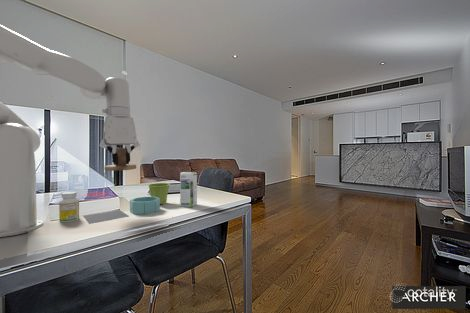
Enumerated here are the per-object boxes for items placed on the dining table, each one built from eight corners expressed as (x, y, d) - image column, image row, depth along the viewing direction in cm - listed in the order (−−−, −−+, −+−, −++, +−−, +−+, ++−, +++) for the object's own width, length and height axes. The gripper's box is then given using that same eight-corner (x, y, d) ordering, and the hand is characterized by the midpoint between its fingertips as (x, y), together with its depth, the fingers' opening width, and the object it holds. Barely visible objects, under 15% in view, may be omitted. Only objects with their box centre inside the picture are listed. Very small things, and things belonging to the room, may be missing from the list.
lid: (108, 171, 74) (107, 148, 74) (101, 168, 82) (100, 148, 82) (140, 168, 81) (139, 148, 81) (131, 166, 89) (130, 147, 89)
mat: (89, 225, 70) (89, 223, 70) (82, 217, 79) (82, 215, 79) (129, 217, 78) (129, 216, 78) (119, 211, 87) (119, 209, 87)
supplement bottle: (71, 223, 72) (71, 194, 72) (55, 223, 72) (54, 194, 72) (83, 218, 78) (82, 191, 77) (67, 218, 78) (67, 191, 77)
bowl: (136, 217, 79) (136, 203, 79) (127, 211, 86) (127, 199, 86) (163, 212, 86) (163, 199, 86) (152, 207, 93) (152, 195, 93)
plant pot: (173, 201, 104) (173, 183, 104) (165, 206, 95) (164, 186, 95) (154, 201, 105) (154, 182, 105) (144, 205, 96) (143, 185, 96)
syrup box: (179, 206, 94) (179, 172, 94) (185, 203, 100) (185, 171, 100) (192, 207, 93) (192, 172, 93) (197, 204, 99) (197, 171, 99)
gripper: (94, 110, 72) (97, 166, 73) (145, 114, 83) (147, 163, 84) (90, 113, 78) (93, 165, 78) (138, 116, 89) (140, 162, 89)
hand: (121, 163), depth 81 cm, fingers closed on lid, 3 cm apart
